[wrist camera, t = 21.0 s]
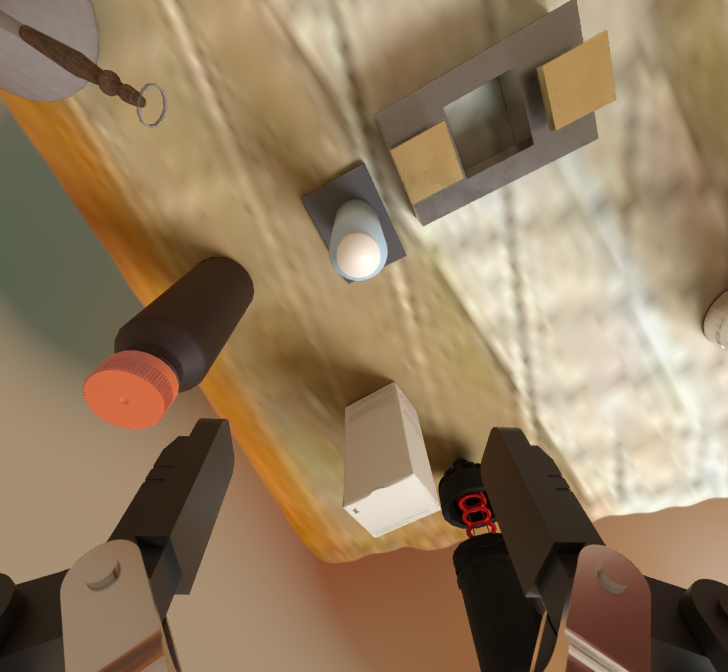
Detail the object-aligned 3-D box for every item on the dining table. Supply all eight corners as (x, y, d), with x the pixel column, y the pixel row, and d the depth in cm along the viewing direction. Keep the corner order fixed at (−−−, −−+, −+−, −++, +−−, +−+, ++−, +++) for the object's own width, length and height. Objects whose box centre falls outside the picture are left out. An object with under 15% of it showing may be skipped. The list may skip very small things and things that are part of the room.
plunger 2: (570, 45, 29) (606, 30, 25) (580, 104, 31) (616, 99, 27) (516, 75, 30) (542, 66, 26) (529, 131, 32) (555, 130, 28)
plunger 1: (432, 122, 31) (444, 120, 27) (450, 173, 33) (463, 178, 29) (385, 148, 32) (390, 150, 28) (405, 196, 34) (412, 204, 30)
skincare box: (367, 434, 52) (372, 541, 38) (342, 404, 49) (337, 508, 35) (419, 410, 50) (444, 513, 36) (395, 377, 47) (413, 475, 33)
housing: (549, 13, 29) (576, -3, 26) (573, 138, 34) (598, 138, 30) (373, 116, 33) (376, 113, 29) (416, 217, 37) (422, 226, 34)
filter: (464, 494, 58) (554, 785, 32) (416, 477, 56) (471, 775, 30) (517, 438, 53) (679, 737, 26) (465, 418, 50) (586, 722, 24)
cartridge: (335, 197, 35) (329, 223, 25) (380, 200, 36) (392, 228, 25) (333, 242, 38) (327, 283, 27) (375, 244, 38) (385, 287, 27)
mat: (364, 162, 34) (364, 163, 34) (405, 254, 39) (406, 255, 38) (301, 197, 36) (300, 198, 35) (348, 282, 40) (348, 283, 40)
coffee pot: (-39, 60, 30) (-343, 1, 17) (-45, -124, 25) (-479, -408, 12) (215, 181, 35) (133, 209, 22) (252, 48, 30) (173, -20, 17)
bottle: (190, 251, 38) (52, 348, 21) (255, 260, 39) (175, 363, 21) (194, 308, 41) (77, 434, 24) (254, 316, 42) (183, 445, 25)
